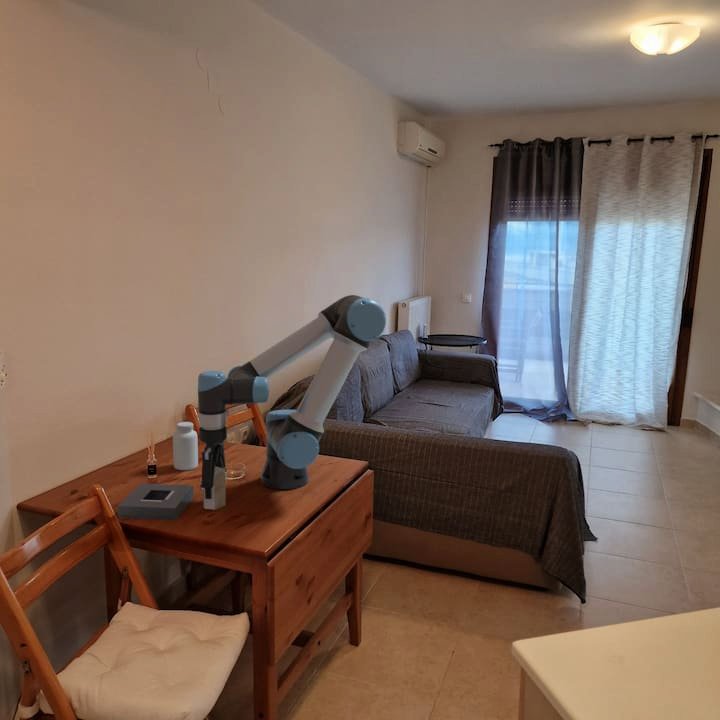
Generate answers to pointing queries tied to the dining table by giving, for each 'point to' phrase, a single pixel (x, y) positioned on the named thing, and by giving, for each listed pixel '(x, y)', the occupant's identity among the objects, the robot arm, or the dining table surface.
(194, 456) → the pill bottle
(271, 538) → the dining table surface
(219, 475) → the box
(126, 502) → the base
